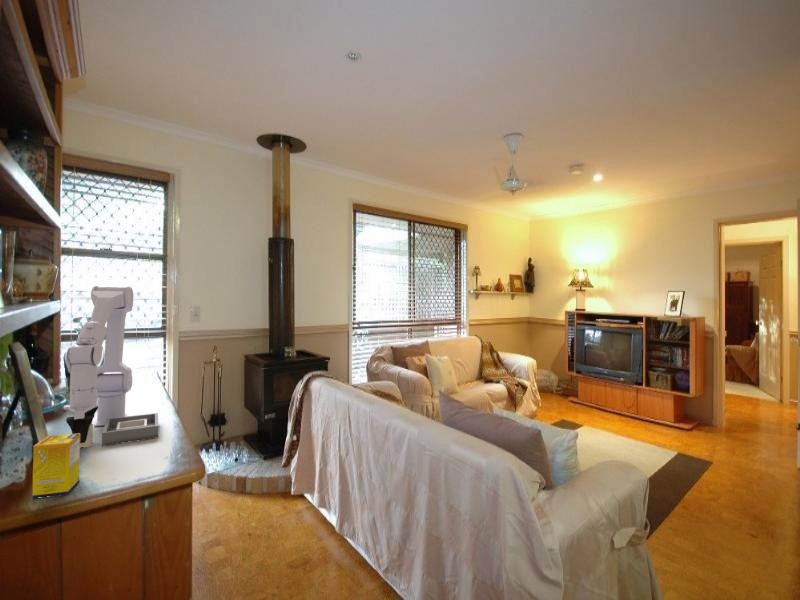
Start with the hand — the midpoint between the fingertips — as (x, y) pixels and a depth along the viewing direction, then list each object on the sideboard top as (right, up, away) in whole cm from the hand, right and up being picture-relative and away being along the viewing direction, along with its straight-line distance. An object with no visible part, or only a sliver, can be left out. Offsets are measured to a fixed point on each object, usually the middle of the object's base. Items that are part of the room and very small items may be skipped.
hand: (82, 438), depth 105 cm
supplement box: (+14, -3, -24) cm, 28 cm away
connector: (0, -2, 0) cm, 2 cm away
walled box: (+7, -2, +9) cm, 12 cm away
